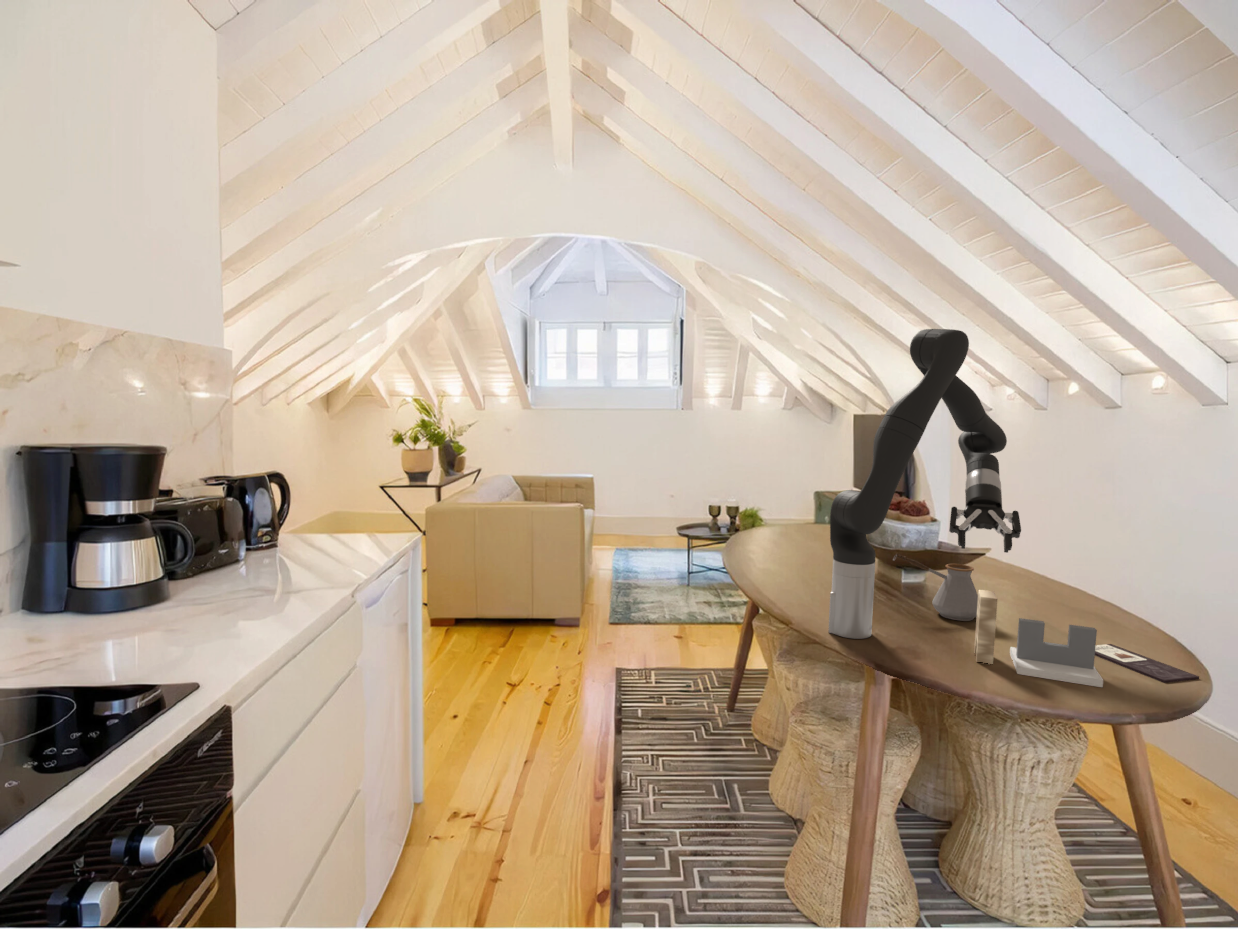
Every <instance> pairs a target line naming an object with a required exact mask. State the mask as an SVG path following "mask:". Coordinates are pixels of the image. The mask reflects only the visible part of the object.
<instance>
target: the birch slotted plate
mask: <svg viewBox="0 0 1238 929" xmlns="http://www.w3.org/2000/svg"><path fill="white" fill-rule="evenodd" d="M977 594H978V602H977V617H975V618H976V619H975V621H976V622H975V635H974V648H973V649H974V650H973V654H974V653H975V654H976V655H975V654H974V655H975V662H976V663H977V662H983V663H982V664H984V663H988V664H987V665H990V664H993V665H994V658H995V657H994V656H995V655H994V652H995V640H996V626H997V613H998V612H997V611H998V610H997V609H998V596H997V595H996V592H995V590H987V589H978V591H977Z"/></svg>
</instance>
